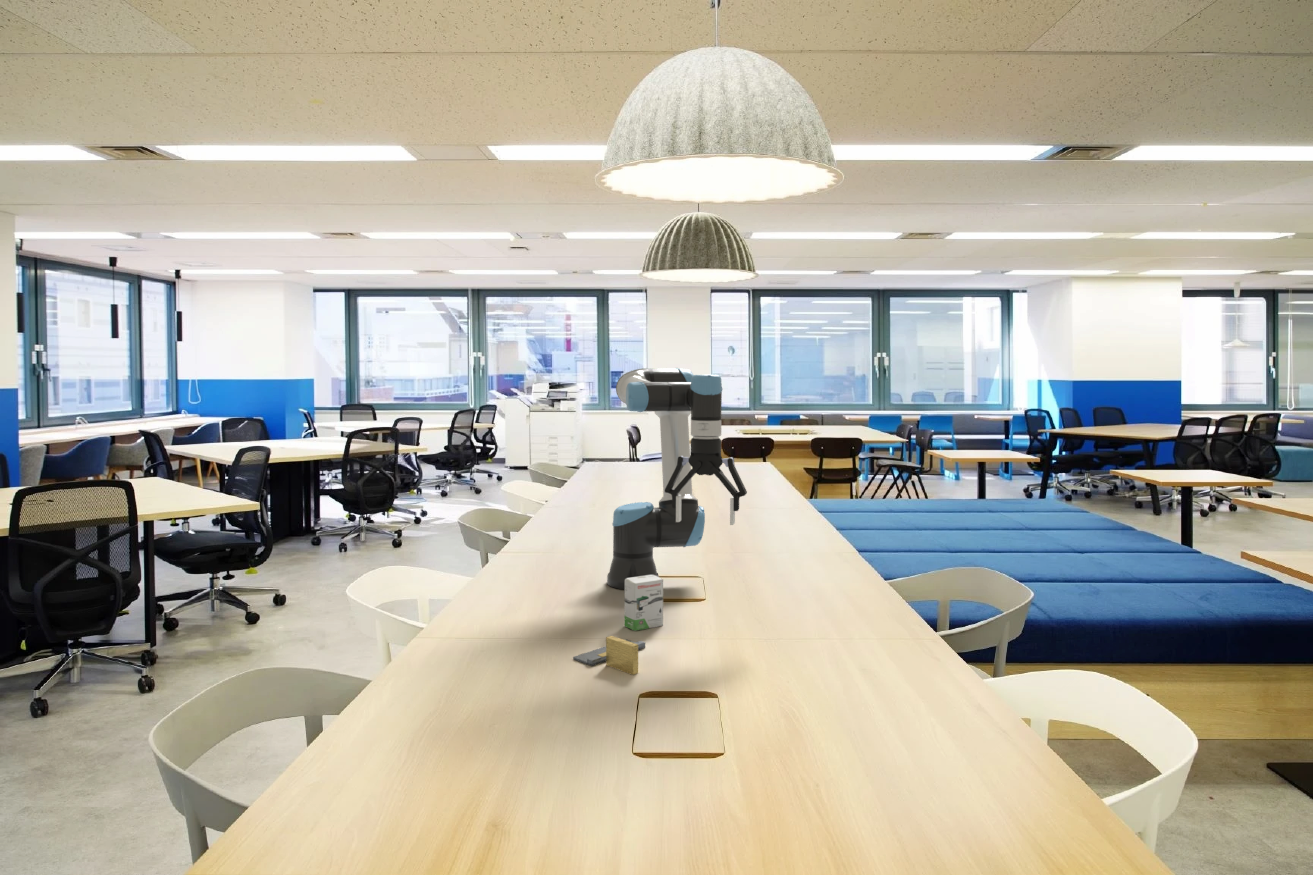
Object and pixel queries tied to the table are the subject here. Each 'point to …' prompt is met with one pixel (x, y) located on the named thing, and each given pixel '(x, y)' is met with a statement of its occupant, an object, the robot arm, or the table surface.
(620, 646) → the rail
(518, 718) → the table surface
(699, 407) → the robot arm
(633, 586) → the ink box
